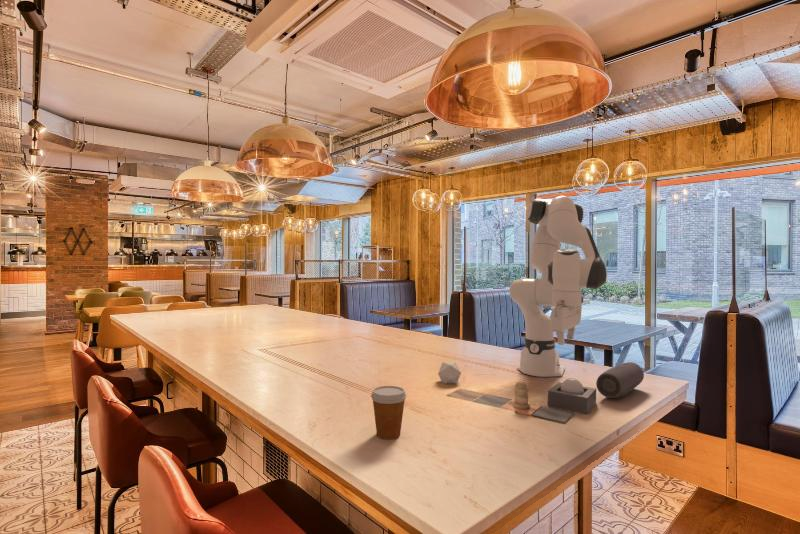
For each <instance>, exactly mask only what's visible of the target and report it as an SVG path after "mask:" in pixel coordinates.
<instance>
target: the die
mask: <svg viewBox="0 0 800 534" xmlns="http://www.w3.org/2000/svg"><path fill="white" fill-rule="evenodd" d="M461 374H462V371H461V369H460V367H459V366H458V364H457V362H454V361H453V362H452V361H449V362H448V361H444V362H441V365H440V367H439V369H438V373H437V375H438V377H439V379H440V381H441V383H442V384H458V382H459V379H460V377H461Z"/></svg>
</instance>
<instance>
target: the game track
mask: <svg viewBox="0 0 800 534" xmlns="http://www.w3.org/2000/svg"><path fill="white" fill-rule="evenodd" d="M445 396H447V397H451V398H454V399H460V400H462V401H463V400H464V401H468V402H473V403H478V404H483V405H485V406H486V405H487V406H491V407H496V408H498V409H499V408H500V409H504V410H509V411H514V413H516V414H519V415H525V416H529V417H534V418H539V419H543V420H547V421H552V422H557V423H560V424H565V425H566V423H567V422H568V421H569V420H570V419H571V418H572V417H573V416H574V415H575V412H574V411H569V410H564V409H559V408H554V407H550V406H548V405H547V406H545V405H542V404H536V403H531V402H529V403H530V408H528V409H518V408H515V407H514V406H513V402H514V401H515V399H512V398H509V397H503V396H497V395H494V394H493V395H492V394H488V393H483V392H479V391H475V390H468V389H465V388H464V389H463V388H459V389H456V390H455V391H452V392H450V393H448V394H446V395H445Z"/></svg>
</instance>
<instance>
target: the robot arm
mask: <svg viewBox="0 0 800 534" xmlns="http://www.w3.org/2000/svg"><path fill="white" fill-rule="evenodd" d="M526 214H527V220H528V222H530V223H532V224H534V225H537V227H536V230H535V233H534V237H533V241H532V247H531V254H530V266H531V267H532V268H533V269H534V270H536V271H537V272H539V273H541V278H519V279H515V280H513V281H512V282H511V284H510V286H509V295H510V296H509V297H510V298H511V299H512V301H513V302H514V303H516V304H517V306H518V307H519V308H520V311H521V312H522V315H523V317H524V324H525V337H524V340H523V343H524V344H523V345H524V348H523V349H521V351H520V361H519V365H518V366H516V370H518V371H520V372H521V373H523V374H526V375H529V376H533V377H542V378H543V377H544V378H546V377H547V378H549V377H550V378H551V377H563V375H564V372H565V369H566V366H565V365H562V364H560V355H559V353H558V352H557V350H556V340H557V344H558V345H559V346H562V345H565V344H566V340H567V341H573V339H574V334H575V331H576V326H578V325H580V324H581V319H582V308H583V307H582V304H583V303H584V296H582V289H583V288H584V289H585V288H586V289H591V290H597V289H600V287H602V286H604V284H606V282H607V278H608V277H607V276H608V272H607V271H608V270H607V268H606V265H605V263H604V261H603V259H602V257H601V255H600V252H599V250H598V247H597V244H596V242H595V239H594V237H593V234H592V232H591V230H590V229H589V227H586V226H585V225H583V224H582V222H583V220H584V209H583V207H582V206H581V205H579V204H577V203H575V202H574V200H573V199H572V198H570V197H569V196H566V195H560V196H557V197H555V198H553V199H543V198H534V199H533V200H532V201H530V203H529V205H528V207H527V211H526ZM561 243H562V244H566V245H571V246H575V247H577V248H579V249H581V251H582V252H583V254H584V259H582V258H581V255H580V252H579V250H577V249H572V248H561ZM560 248H561V249H560ZM541 306H544V307H552V309H551V316H549V315H547V314H545V313H544V312H543V310H542V308H541ZM565 331H567V333H566V338H565ZM554 332H555V334H556V338H555V337H554Z"/></svg>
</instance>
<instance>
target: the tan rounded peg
mask: <svg viewBox="0 0 800 534" xmlns="http://www.w3.org/2000/svg"><path fill="white" fill-rule="evenodd" d="M514 398H515V399H514V400H515V401H514V402H513V406H514V407H515V408H518V409H528V408H530V403H531V402H529V386H528V384H527V382H525V380H524V381H523V380H520V381H517V382H516V383H515V386H514Z"/></svg>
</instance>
